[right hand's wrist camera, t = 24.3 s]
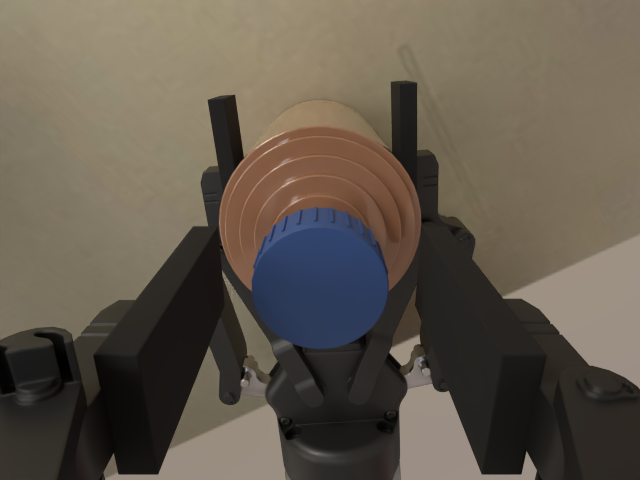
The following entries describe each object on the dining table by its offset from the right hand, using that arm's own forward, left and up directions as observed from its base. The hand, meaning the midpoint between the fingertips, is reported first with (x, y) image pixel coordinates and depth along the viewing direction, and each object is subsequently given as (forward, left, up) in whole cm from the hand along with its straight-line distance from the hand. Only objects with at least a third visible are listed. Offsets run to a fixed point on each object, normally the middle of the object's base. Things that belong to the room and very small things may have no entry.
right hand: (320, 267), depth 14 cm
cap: (0, 0, +1) cm, 1 cm away
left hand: (-1, +5, -10) cm, 11 cm away
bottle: (0, 0, -16) cm, 16 cm away
